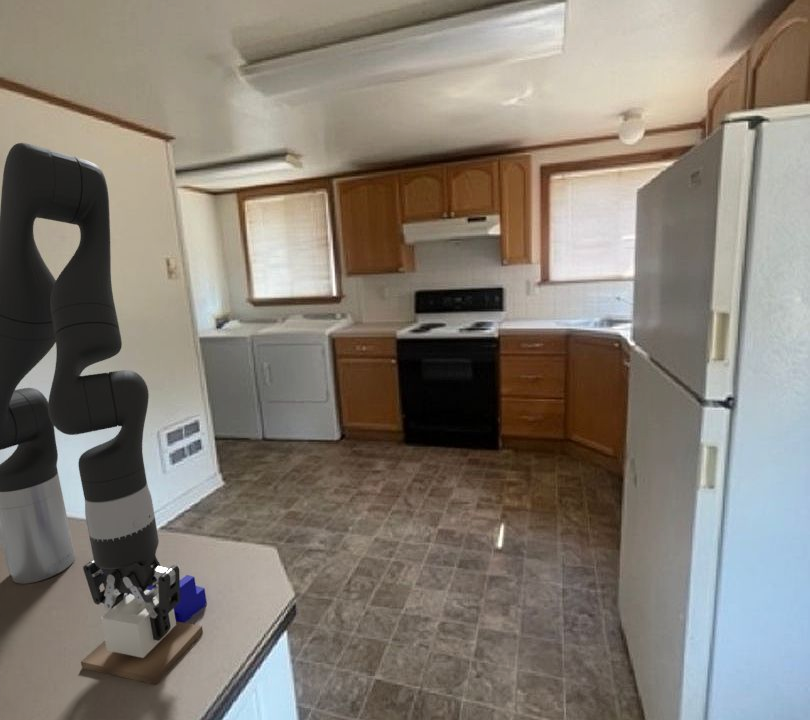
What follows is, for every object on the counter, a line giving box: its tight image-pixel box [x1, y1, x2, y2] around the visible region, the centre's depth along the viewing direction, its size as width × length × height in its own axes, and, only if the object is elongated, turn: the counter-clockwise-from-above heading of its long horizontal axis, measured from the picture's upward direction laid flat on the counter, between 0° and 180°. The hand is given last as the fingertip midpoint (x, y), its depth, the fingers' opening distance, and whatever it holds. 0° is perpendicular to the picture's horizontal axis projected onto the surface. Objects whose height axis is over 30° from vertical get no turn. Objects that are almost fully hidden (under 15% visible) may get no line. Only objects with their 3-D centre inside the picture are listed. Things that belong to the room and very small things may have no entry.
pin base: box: [80, 621, 203, 685], centre depth 65 cm, size 12×9×5 cm
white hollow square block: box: [100, 590, 176, 658], centre depth 64 cm, size 6×6×5 cm
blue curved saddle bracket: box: [126, 574, 208, 623], centre depth 74 cm, size 12×4×6 cm, turn 66°
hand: (141, 631), depth 65 cm, fingers closed on white hollow square block, 6 cm apart
